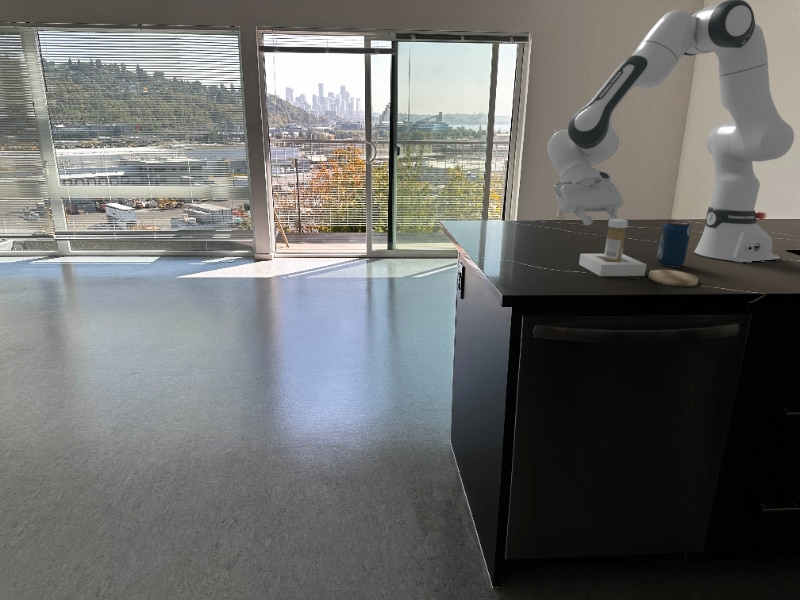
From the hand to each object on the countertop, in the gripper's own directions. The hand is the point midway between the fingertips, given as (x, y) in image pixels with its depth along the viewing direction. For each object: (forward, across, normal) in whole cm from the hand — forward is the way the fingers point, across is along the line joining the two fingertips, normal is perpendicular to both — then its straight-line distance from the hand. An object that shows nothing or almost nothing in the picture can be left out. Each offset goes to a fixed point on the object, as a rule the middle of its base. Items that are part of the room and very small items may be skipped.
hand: (602, 223), depth 135 cm
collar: (+12, 0, +5) cm, 13 cm away
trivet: (+21, +7, -5) cm, 23 cm away
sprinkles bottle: (+12, 0, +5) cm, 13 cm away
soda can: (+13, +21, +3) cm, 25 cm away
